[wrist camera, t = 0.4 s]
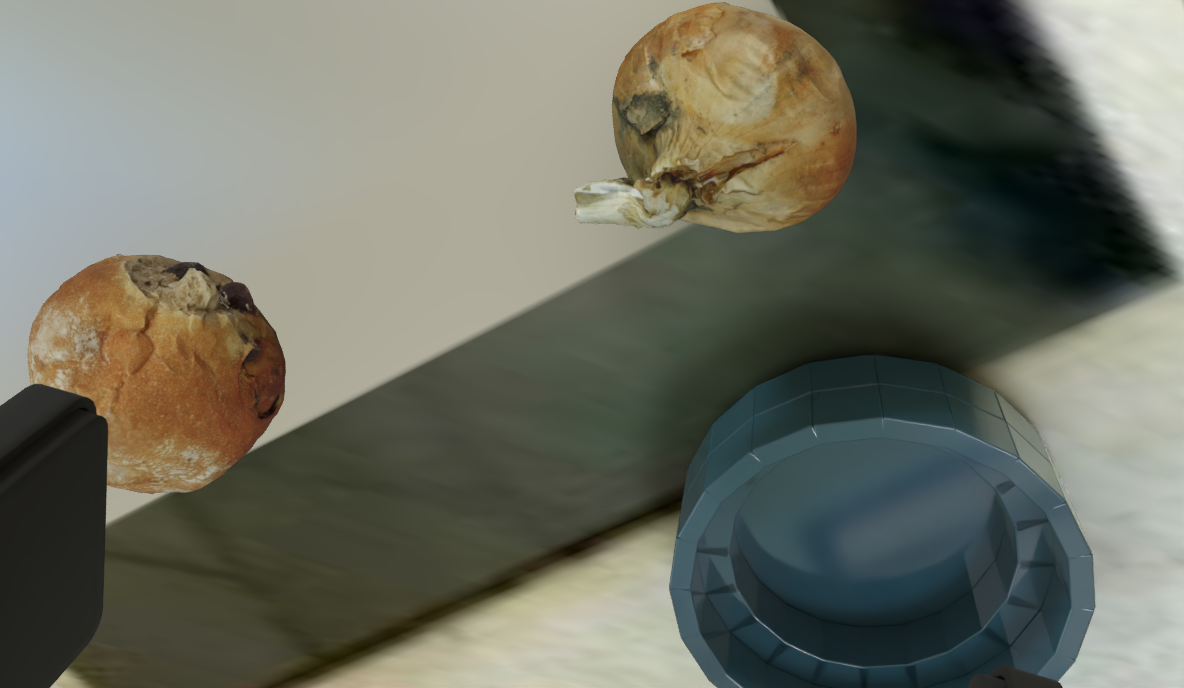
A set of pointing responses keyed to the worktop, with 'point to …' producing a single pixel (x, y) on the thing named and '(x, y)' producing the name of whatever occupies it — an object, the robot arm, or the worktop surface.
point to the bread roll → (162, 367)
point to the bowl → (877, 535)
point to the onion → (725, 126)
